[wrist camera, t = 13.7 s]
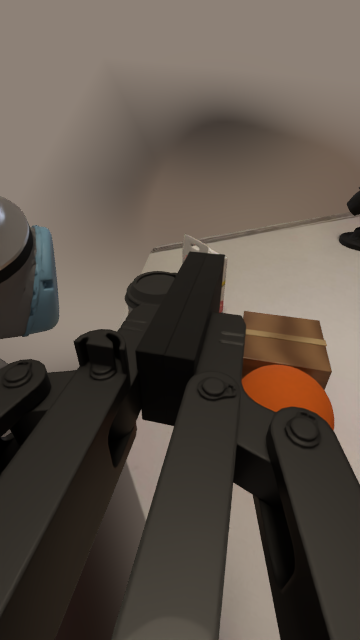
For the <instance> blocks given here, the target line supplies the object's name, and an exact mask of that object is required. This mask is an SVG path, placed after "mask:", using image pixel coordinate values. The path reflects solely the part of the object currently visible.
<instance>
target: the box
mask: <svg viewBox="0 0 360 640" xmlns="http://www.w3.org/2000/svg"><path fill="white" fill-rule="evenodd" d="M243 320H244V322H245V323H246V336H245V345H244V357H243V368H242V379H243V378H244V377H245V376H246V375H247V374H249V373H250V372H252V371H253V370H256V369H258V368H260V367H263V366H268V365H286V366H291V367H294V368H297V369H299V370H301V371H303V372H305V373H306V374H308V375H310V376H311V377H312V378H313V379H315V380H316V381H317V382H318V383H319V384H320V386H321V387H322V388H323V389H324V390H325V387H326V385H327V382H328V380H329V377H330V375H331V372H332V371H331V367H330V363H329V359H328V355H327V351H326V346H327V345H326V341H325V340H324V338H323V334H322V330H321V326H320V322H319V321H317V320H309V319H302V318H294V317H286V316H278V315H271V314H263V313H255V312H248V311H244V316H243Z"/></svg>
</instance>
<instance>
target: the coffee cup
mask: <svg viewBox="0 0 360 640" xmlns="http://www.w3.org/2000/svg"><path fill="white" fill-rule="evenodd" d="M176 275H177V273H169V272H163V271H153V272H147V273H144V274H141V275H139V276H137V277H136V278H135V279H134V281H133V282H132V283H131V284H130V285H129V286H128V288H127V293H126V295H125V301H126V303H127V305H128V308H129V312H128V315H129V313H130V312H131V310H133V309H134V308H136V307H137V306H139V305H141V304H142V303H143V304H151V305H158V306H160V304H161V303H162V301H163V299H164V297H165V295H166V293H167V292H168V290H169V288H170V286H171V284H172V282H173V281H174V279H175V277H176Z"/></svg>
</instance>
